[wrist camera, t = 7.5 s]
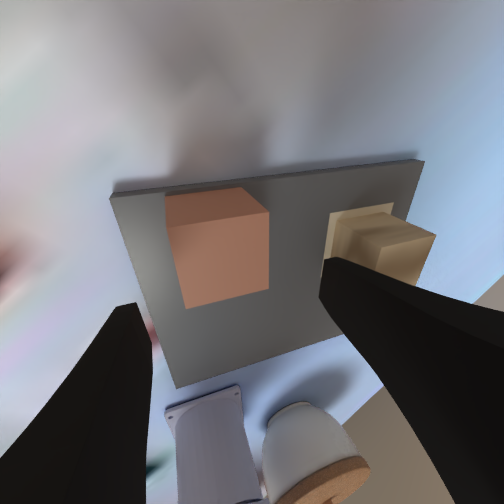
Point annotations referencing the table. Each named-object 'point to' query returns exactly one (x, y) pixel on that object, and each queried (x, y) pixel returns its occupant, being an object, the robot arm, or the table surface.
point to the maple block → (383, 245)
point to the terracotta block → (218, 244)
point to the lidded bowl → (310, 458)
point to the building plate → (280, 264)
